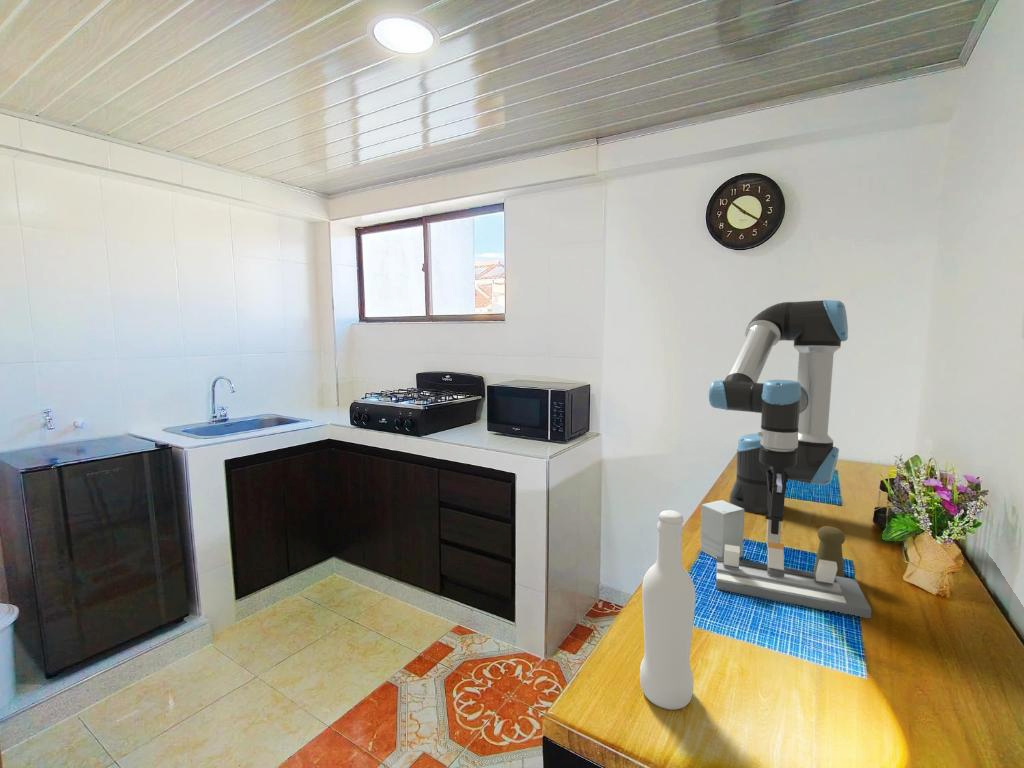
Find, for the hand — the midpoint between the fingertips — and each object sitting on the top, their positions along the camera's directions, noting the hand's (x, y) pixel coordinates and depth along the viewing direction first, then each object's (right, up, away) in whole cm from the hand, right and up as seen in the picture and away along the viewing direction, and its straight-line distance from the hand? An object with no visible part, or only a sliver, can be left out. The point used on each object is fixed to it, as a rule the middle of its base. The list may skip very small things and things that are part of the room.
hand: (773, 544), depth 110 cm
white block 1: (-11, -4, -3) cm, 12 cm away
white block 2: (+5, -4, -10) cm, 12 cm away
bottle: (-37, -12, -35) cm, 53 cm away
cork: (+13, -7, -1) cm, 14 cm away
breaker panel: (-1, -7, -7) cm, 10 cm away
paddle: (-3, -4, -6) cm, 8 cm away
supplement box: (-8, -6, +9) cm, 14 cm away
